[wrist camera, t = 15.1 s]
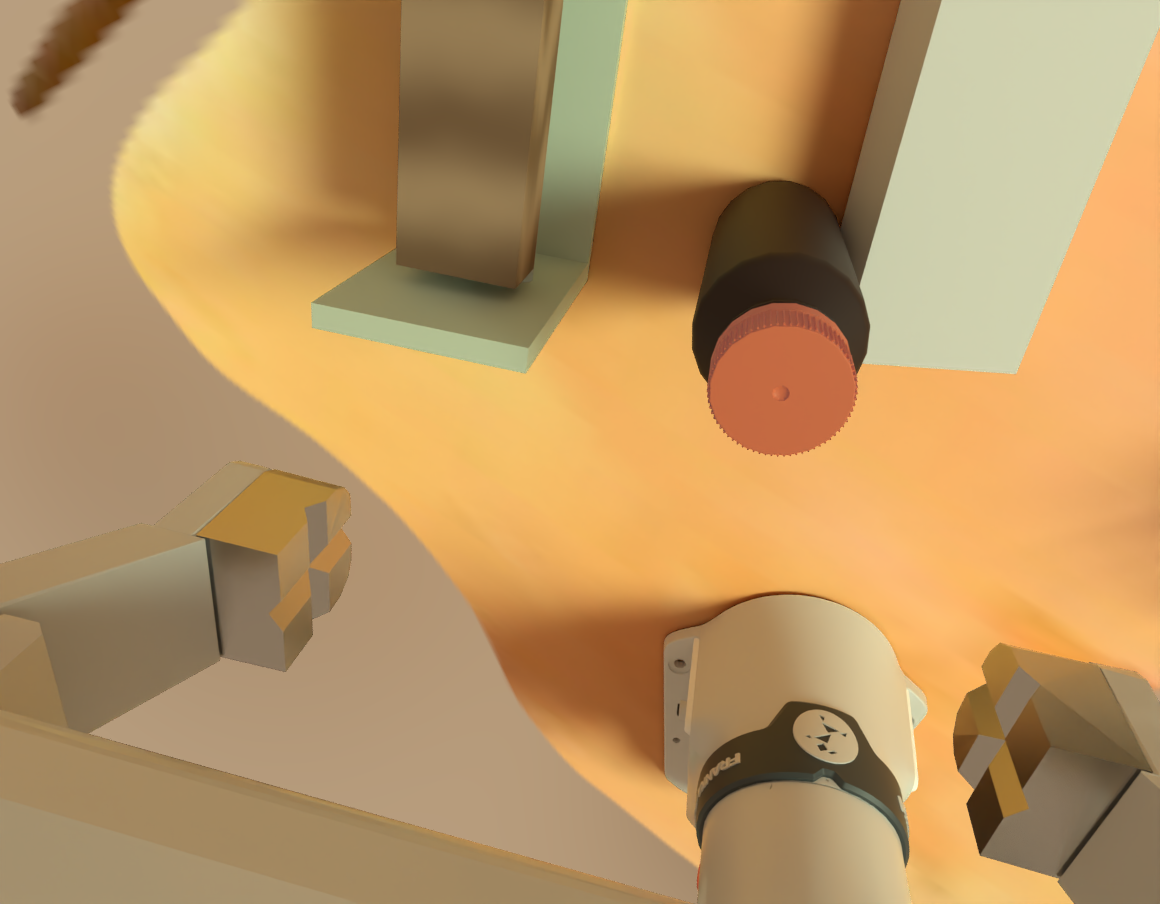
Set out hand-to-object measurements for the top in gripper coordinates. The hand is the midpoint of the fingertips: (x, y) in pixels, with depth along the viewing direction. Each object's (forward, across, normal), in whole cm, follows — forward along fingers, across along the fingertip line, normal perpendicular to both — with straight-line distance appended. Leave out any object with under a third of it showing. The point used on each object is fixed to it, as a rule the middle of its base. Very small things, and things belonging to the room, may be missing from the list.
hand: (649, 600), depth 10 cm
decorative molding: (+38, -11, -9) cm, 40 cm away
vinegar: (+37, -3, +4) cm, 38 cm away
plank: (+31, +12, -1) cm, 33 cm away
